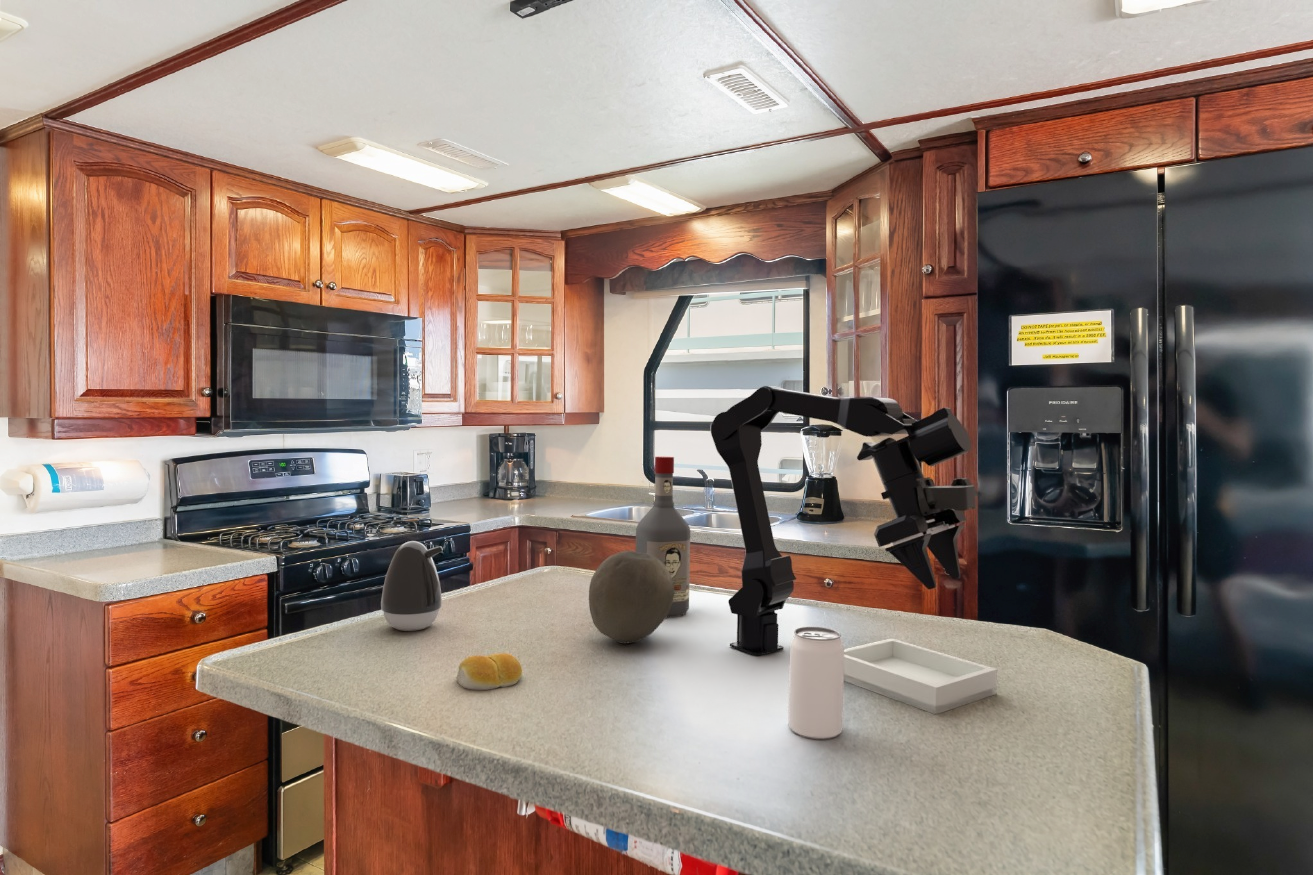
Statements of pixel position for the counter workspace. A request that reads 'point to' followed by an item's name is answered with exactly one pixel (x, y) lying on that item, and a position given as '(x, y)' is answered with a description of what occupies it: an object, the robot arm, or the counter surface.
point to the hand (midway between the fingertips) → (945, 583)
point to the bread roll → (489, 671)
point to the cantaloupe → (630, 596)
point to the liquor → (667, 535)
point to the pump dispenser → (412, 588)
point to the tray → (918, 675)
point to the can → (816, 683)
